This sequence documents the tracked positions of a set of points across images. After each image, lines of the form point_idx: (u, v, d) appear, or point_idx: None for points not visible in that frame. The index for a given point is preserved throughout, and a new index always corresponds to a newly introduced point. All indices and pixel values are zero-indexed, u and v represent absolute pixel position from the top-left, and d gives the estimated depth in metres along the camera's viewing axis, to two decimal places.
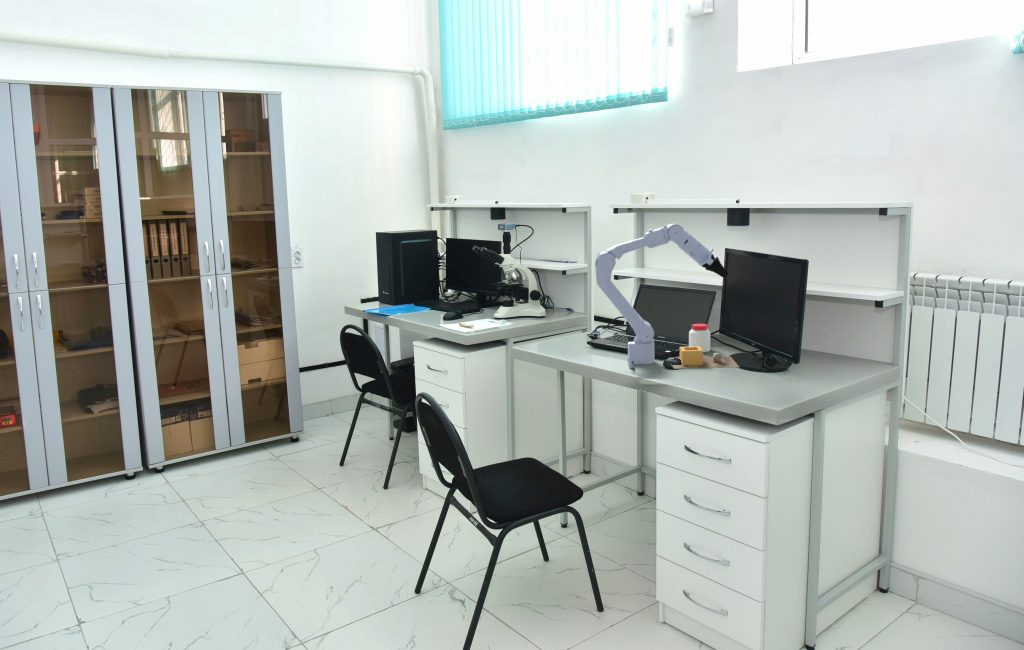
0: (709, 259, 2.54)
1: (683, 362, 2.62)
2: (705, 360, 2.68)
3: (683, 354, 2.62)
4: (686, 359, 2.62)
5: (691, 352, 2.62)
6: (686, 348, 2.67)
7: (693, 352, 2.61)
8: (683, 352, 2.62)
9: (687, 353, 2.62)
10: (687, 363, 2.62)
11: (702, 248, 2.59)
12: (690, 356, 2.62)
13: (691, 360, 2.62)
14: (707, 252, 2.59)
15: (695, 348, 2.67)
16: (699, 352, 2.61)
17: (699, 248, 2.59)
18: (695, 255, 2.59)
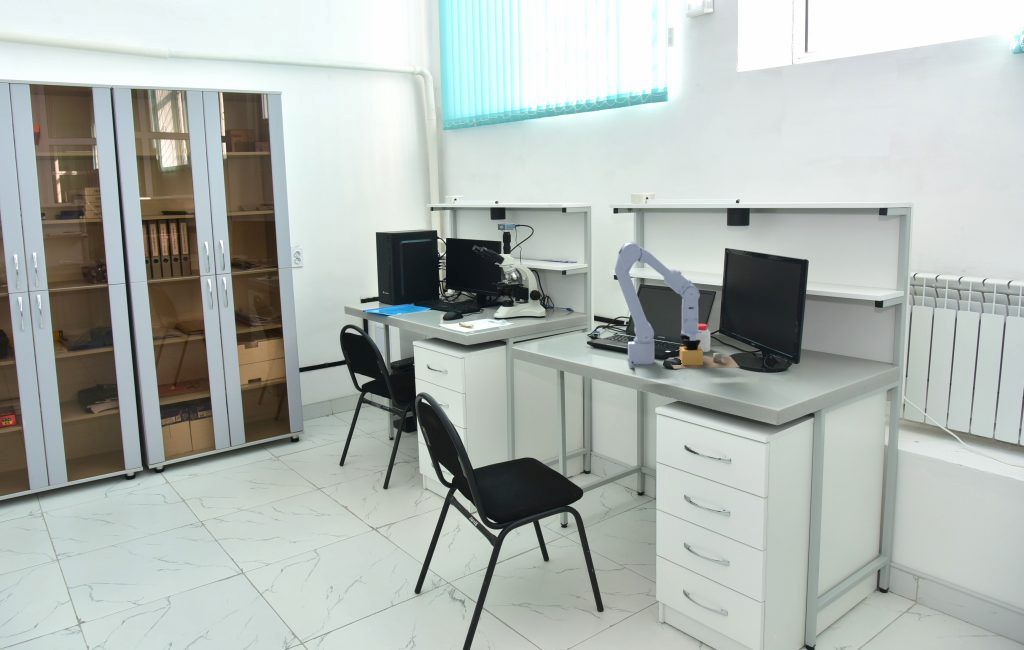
0: (694, 336, 2.60)
1: (683, 362, 2.62)
2: (705, 360, 2.68)
3: (683, 354, 2.62)
4: (686, 359, 2.62)
5: (691, 352, 2.62)
6: (686, 348, 2.67)
7: (693, 352, 2.61)
8: (683, 352, 2.62)
9: (687, 353, 2.62)
10: (687, 363, 2.62)
11: (696, 324, 2.64)
12: (690, 356, 2.62)
13: (691, 360, 2.62)
14: (696, 330, 2.64)
15: None
16: (699, 352, 2.61)
17: (694, 321, 2.63)
18: (686, 323, 2.64)
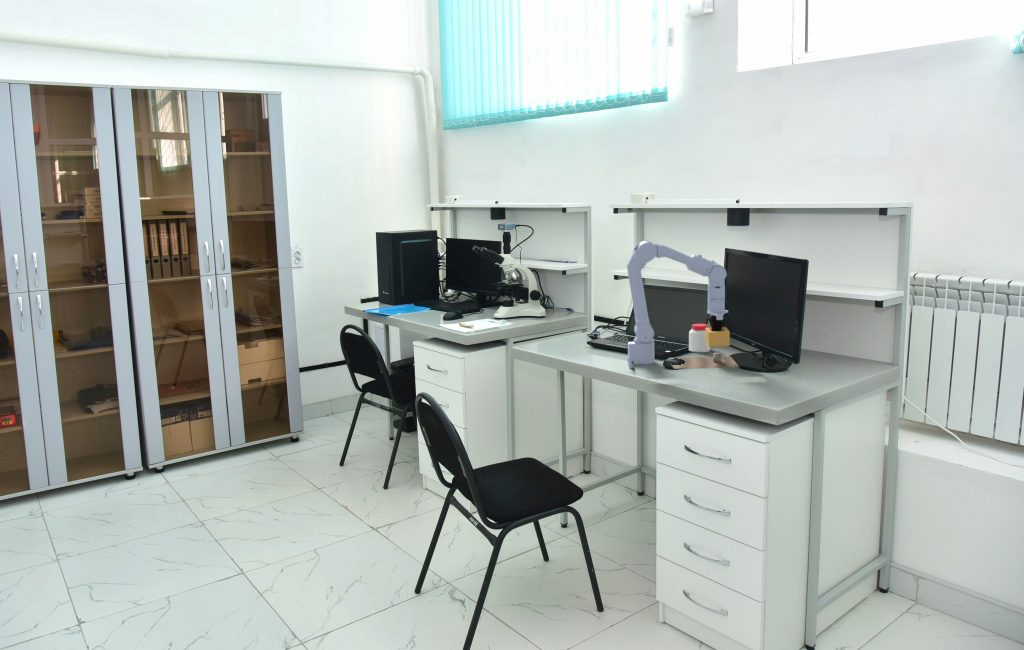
0: (721, 315, 2.57)
1: (709, 343, 2.60)
2: (705, 360, 2.68)
3: (710, 335, 2.60)
4: (713, 340, 2.60)
5: (718, 333, 2.59)
6: None
7: (720, 333, 2.59)
8: (710, 333, 2.60)
9: (714, 334, 2.60)
10: (714, 344, 2.60)
11: (722, 303, 2.62)
12: (717, 337, 2.60)
13: (718, 341, 2.60)
14: (722, 309, 2.62)
15: (721, 329, 2.65)
16: (726, 333, 2.59)
17: (721, 301, 2.61)
18: (713, 303, 2.62)
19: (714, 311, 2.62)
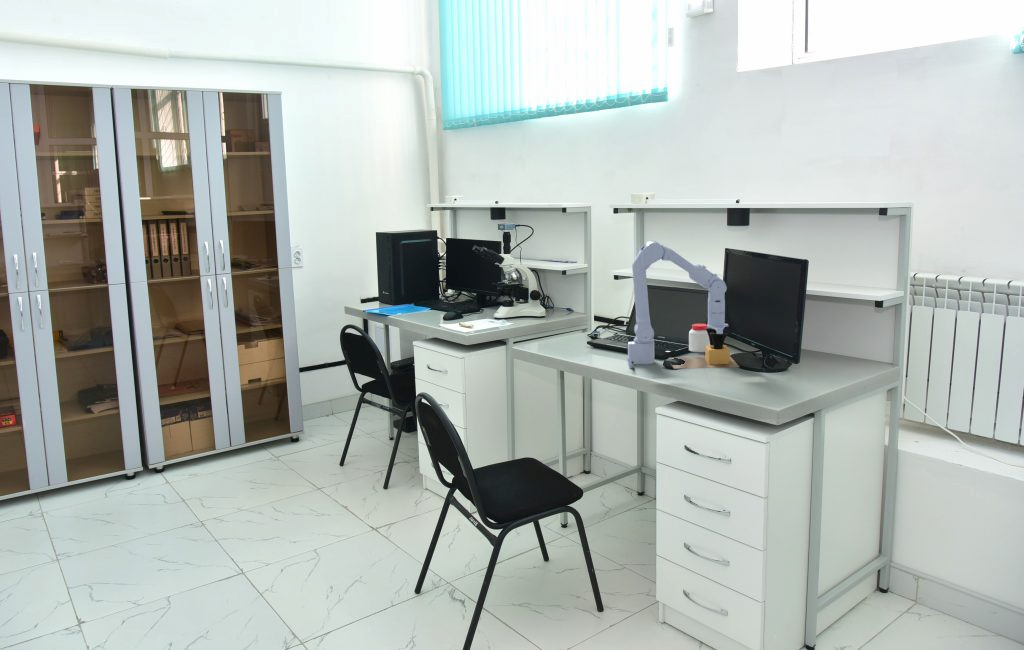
0: (721, 329, 2.58)
1: (709, 361, 2.62)
2: (705, 360, 2.68)
3: (709, 353, 2.62)
4: (712, 358, 2.62)
5: (718, 351, 2.61)
6: (712, 347, 2.67)
7: (720, 351, 2.61)
8: (710, 351, 2.62)
9: (714, 352, 2.62)
10: (713, 362, 2.62)
11: (722, 317, 2.63)
12: (717, 355, 2.62)
13: (717, 359, 2.62)
14: (722, 323, 2.63)
15: None
16: (726, 351, 2.61)
17: (721, 315, 2.62)
18: (713, 317, 2.63)
19: (714, 325, 2.63)
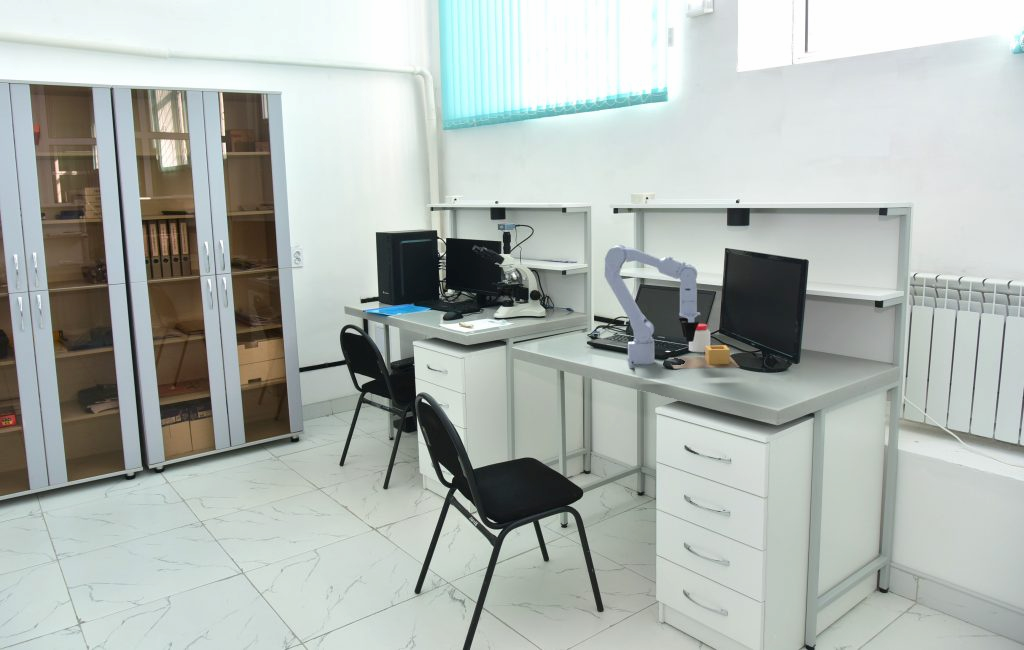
0: (692, 318, 2.56)
1: (709, 361, 2.62)
2: (705, 360, 2.68)
3: (709, 353, 2.62)
4: (712, 358, 2.62)
5: (718, 351, 2.61)
6: (712, 347, 2.67)
7: (720, 351, 2.61)
8: (710, 351, 2.62)
9: (714, 352, 2.62)
10: (713, 362, 2.62)
11: (694, 305, 2.60)
12: (717, 355, 2.62)
13: (717, 359, 2.62)
14: (694, 312, 2.60)
15: (721, 347, 2.67)
16: (726, 351, 2.61)
17: (692, 303, 2.59)
18: (685, 305, 2.60)
19: (686, 313, 2.60)
